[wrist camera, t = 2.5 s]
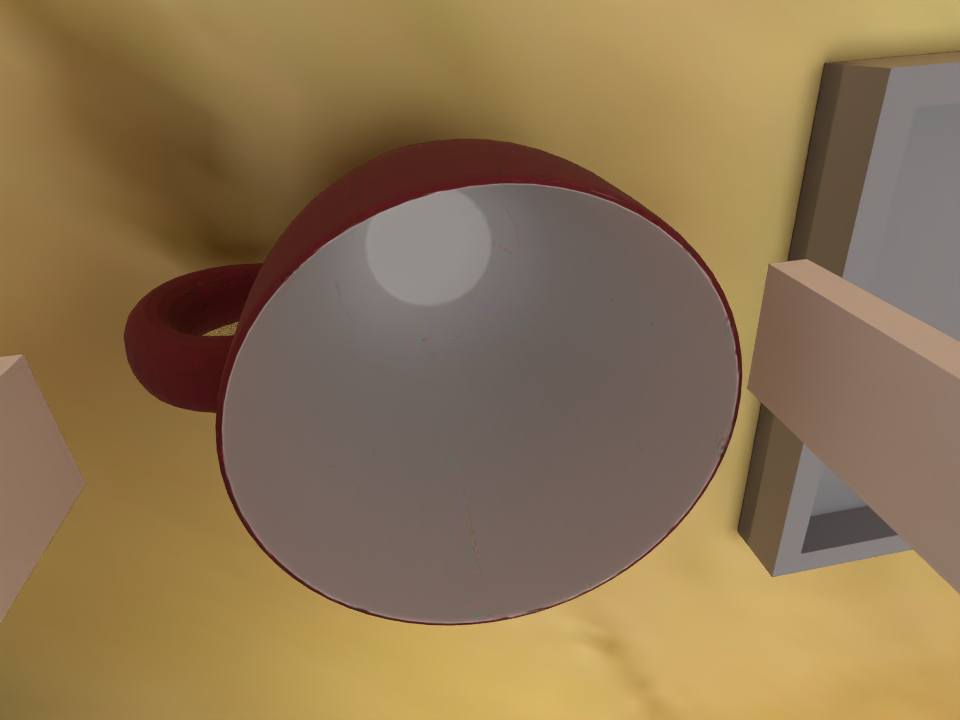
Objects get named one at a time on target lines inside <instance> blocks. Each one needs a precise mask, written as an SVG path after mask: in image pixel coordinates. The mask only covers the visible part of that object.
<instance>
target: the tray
mask: <svg viewBox="0 0 960 720" xmlns="http://www.w3.org/2000/svg"><path fill="white" fill-rule="evenodd" d="M804 259H808V260H809V261H811V262H813V263H815V264H817V265H819V266H821V267H822V268H824V269H826V270H828V271H830V272H832V273H834V274H835V275H837V276H839V277H841V278H843V279H845V280H846V281H848V282H850V283H852V284H854V285H856V286H858V287H859V288H861V289H863V290H865V291H867V292H869V293H870V294H872V295H874V296H876V297H878V298H880V299H882V300H883V301H885V302H887V303H889V304H891V305H893V306H894V307H896V308H898V309H900V310H902V311H904V312H906V313H907V314H909V315H911V316H913V317H915V318H917V319H919V320H920V321H922V322H924V323H926V324H928V325H930V326H931V327H933V328H935V329H937V330H939V331H941V332H943V333H944V334H946V335H948V336H950V337H952V338H954V339H955V340H957V341H959V342H960V51H958V52H946V53H935V54H923V55H912V56H900V57H889V58H878V59H866V60H855V61H843V62H832V63H825V67H824V72H823V77H822V83H821V88H820V93H819V99H818V104H817V109H816V115H815V120H814V126H813V131H812V136H811V142H810V147H809V152H808V158H807V163H806V169H805V174H804V179H803V185H802V190H801V195H800V201H799V206H798V211H797V217H796V222H795V228H794V233H793V238H792V244H791V249H790V254H789V260H788V261H795V260H804ZM738 533H739V534H740V535H741V537H742V538H743V539H744V541H745V542H746V543H747V545H748V546H749V547H750V548H751V550H752V551H753V552H754V554H755V555H756V556H757V558H758V559H759V560H760V562H761V563H762V564H763V566H764V567H765V568H766V570H767V571H768V572H769V574H770V575H771V576H772V577H776V576H781V575H786V574H791V573H796V572H801V571H806V570H811V569H816V568H821V567H826V566H831V565H836V564H841V563H846V562H851V561H857V560H862V559H867V558H872V557H877V556H882V555H887V554H892V553H897V552H902V551H907V550H912V548H911V547H910V546H909V545H908V544H907V543H906V542H905V541H904V540H903V539H902V538H901V537H900V536H899V535H898V534H897V533H896V532H895V531H894V530H893V529H892V528H891V527H890V526H889V525H888V524H887V523H886V522H885V521H884V520H883V519H881V518H880V517H879V516H878V515H877V514H876V513H875V512H874V511H873V510H872V509H871V508H870V507H869V506H868V505H867V504H866V503H865V502H864V501H863V500H862V499H861V498H860V497H859V496H858V495H857V494H856V493H855V492H854V491H853V490H852V489H850V488H849V487H848V486H847V485H846V484H845V483H844V482H843V481H842V480H841V479H840V478H839V477H838V476H837V475H836V474H835V473H834V472H833V471H832V470H831V469H830V468H829V467H828V466H827V465H826V464H825V463H824V462H823V461H822V460H821V459H819V458H818V457H817V456H816V455H815V454H814V453H813V452H812V451H811V450H810V449H809V448H808V447H807V446H806V445H805V444H804V443H803V442H802V441H801V440H800V439H799V438H798V437H797V436H796V435H795V434H794V433H793V432H792V431H791V430H790V429H788V428H787V427H786V426H785V425H784V424H783V423H782V422H781V421H780V420H779V419H778V418H777V417H776V416H775V415H774V414H773V413H772V412H771V411H770V410H769V409H768V408H767V407H766V406H765V405H764V404H763V403H762V405H761V410H760V415H759V421H758V426H757V432H756V437H755V442H754V448H753V453H752V458H751V464H750V469H749V475H748V480H747V485H746V491H745V496H744V501H743V507H742V512H741V517H740V523H739V528H738Z"/></svg>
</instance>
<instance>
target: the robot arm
mask: <svg viewBox="0 0 960 720" xmlns="http://www.w3.org/2000/svg"><path fill="white" fill-rule="evenodd" d="M747 389H748V390H749V391H750V392H751V393H752V394H753V395H754V396H755V397H756V398H757V399H758V400H760V401H761V402H762V403H763V404H764V405H765V406H766V407H767V408H768V409H769V410H770V411H771V412H772V413H773V414H774V415H775V416H776V417H777V418H778V419H779V420H780V421H781V422H782V423H783V424H784V425H785V426H786V427H787V428H788V429H790V430H791V431H792V432H793V433H794V434H795V435H796V436H797V437H798V438H799V439H800V440H801V441H802V442H803V443H804V444H805V445H806V446H807V447H808V448H809V449H810V450H811V451H812V452H813V453H814V454H815V455H816V456H817V457H818V458H819V459H821V460H822V461H823V462H824V463H825V464H826V465H827V466H828V467H829V468H830V469H831V470H832V471H833V472H834V473H835V474H836V475H837V476H838V477H839V478H840V479H841V480H842V481H843V482H844V483H845V484H846V485H847V486H848V487H849V488H850V489H852V490H853V491H854V492H855V493H856V494H857V495H858V496H859V497H860V498H861V499H862V500H863V501H864V502H865V503H866V504H867V505H868V506H869V507H870V508H871V509H872V510H873V511H874V512H875V513H876V514H877V515H878V516H879V517H880V518H881V519H883V520H884V521H885V522H886V523H887V524H888V525H889V526H890V527H891V528H892V529H893V530H894V531H895V532H896V533H897V534H898V535H899V536H900V537H901V538H902V539H903V540H904V541H905V542H906V543H907V544H908V545H909V546H910V547H911V548H912V549H914V550H915V551H916V552H917V553H918V554H919V555H920V556H921V557H922V558H923V559H924V560H925V561H926V562H927V563H928V564H929V565H930V566H931V567H932V568H933V569H934V570H935V571H936V572H937V573H938V574H939V575H940V576H941V577H942V578H943V579H945V580H946V581H947V582H948V583H949V584H950V585H951V586H952V587H953V588H954V589H955V590H956V591H957V592H958V593H959V594H960V342H959V341H957V340H955V339H954V338H952V337H950V336H948V335H946V334H944V333H943V332H941V331H939V330H937V329H935V328H933V327H931V326H930V325H928V324H926V323H924V322H922V321H920V320H919V319H917V318H915V317H913V316H911V315H909V314H907V313H906V312H904V311H902V310H900V309H898V308H896V307H894V306H893V305H891V304H889V303H887V302H885V301H883V300H882V299H880V298H878V297H876V296H874V295H872V294H870V293H869V292H867V291H865V290H863V289H861V288H859V287H858V286H856V285H854V284H852V283H850V282H848V281H846V280H845V279H843V278H841V277H839V276H837V275H835V274H834V273H832V272H830V271H828V270H826V269H824V268H822V267H821V266H819V265H817V264H815V263H813V262H811V261H809V260H808V259H804V260H795V261H787V262H779V263H771V264H769V266H768V272H767V278H766V283H765V289H764V295H763V301H762V306H761V312H760V318H759V324H758V329H757V335H756V341H755V347H754V352H753V358H752V364H751V370H750V375H749V381H748V387H747ZM85 484H86V483H85V481H84V479H83V477H82V475H81V473H80V471H79V469H78V467H77V465H76V463H75V461H74V458H73V456H72V454H71V452H70V450H69V448H68V446H67V444H66V442H65V440H64V438H63V436H62V433H61V431H60V429H59V427H58V425H57V423H56V421H55V419H54V417H53V415H52V413H51V411H50V409H49V406H48V404H47V402H46V400H45V398H44V396H43V394H42V392H41V390H40V388H39V386H38V384H37V381H36V379H35V377H34V375H33V373H32V371H31V369H30V367H29V365H28V363H27V361H26V359H25V356H24V354H21V355H13V356H4V357H0V623H1V622H2V620H3V618H4V617H5V615H6V613H7V612H8V610H9V608H10V607H11V605H12V604H13V602H14V600H15V599H16V597H17V595H18V594H19V592H20V590H21V589H22V587H23V586H24V584H25V582H26V581H27V579H28V577H29V576H30V574H31V572H32V571H33V569H34V568H35V566H36V564H37V563H38V561H39V559H40V558H41V556H42V554H43V553H44V551H45V549H46V548H47V546H48V545H49V543H50V541H51V540H52V538H53V536H54V535H55V533H56V531H57V530H58V528H59V527H60V525H61V523H62V522H63V520H64V518H65V517H66V515H67V513H68V512H69V510H70V509H71V507H72V505H73V504H74V502H75V500H76V499H77V497H78V495H79V494H80V492H81V491H82V489H83V487H84V486H85Z"/></svg>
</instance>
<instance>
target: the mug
mask: <svg viewBox="0 0 960 720" xmlns="http://www.w3.org/2000/svg"><path fill="white" fill-rule="evenodd" d="M238 321H239V322H238ZM235 322H238V325H237V329H236V332H235V335H232V336H201V335H204V334H206V333H208V332H210V331H212V330H215V329H217V328H220V327H222V326H225V325H228V324H231V323H235ZM124 342H125V349H126V354H127V359H128V362H129V364H130V367H131V369H132V371H133V373H134V375H135V376H136V378H137V379H138V380H139V382H140V383H141V384H142V385H143V386H144V387H145V388H146V389H147V390H148V392H149V393H151V394H152V395H154V396H155V397H156V398H158V399H159V400H161V401H163V402H165V403H168V404H170V405H172V406H175V407H179V408H183V409H188V410H193V411H198V412H213V413H216V444H217V454H218V459H219V464H220V470H221V474H222V477H223V480H224V484H225V487H226V490H227V493H228V495H229V498H230V500H231V502H232V504H233V506H234V509H235V511H236V513H237V515H238V516H239V518H240V520H241V521H242V523H243V525H244V526H245V528H246V529H247V531H248V533H249V534H250V535H251V536H252V538H253V539H254V540H255V541H256V543H257V544H258V545H259V547H260V548H261V549H262V550H263V551H264V552H265V553H266V554H267V555H268V556H269V557H270V558H271V559H272V560H273V561H274V562H275V563H276V564H277V565H278V566H279V567H280V568H282V569H283V570H284V571H285V572H286V573H288V574H289V575H290V576H291V577H292V578H294V579H295V580H297V581H298V582H300V583H301V584H303V585H304V586H306V587H307V588H309V589H310V590H312V591H314V592H316V593H318V594H320V595H321V596H323V597H325V598H327V599H329V600H331V601H334V602H336V603H338V604H340V605H343V606H345V607H347V608H350V609H353V610H356V611H359V612H362V613H365V614H368V615H372V616H376V617H380V618H384V619H389V620H394V621H400V622H406V623H415V624H425V625H471V624H480V623H489V622H496V621H501V620H507V619H512V618H516V617H520V616H524V615H528V614H532V613H536V612H539V611H542V610H545V609H548V608H551V607H554V606H557V605H560V604H562V603H565V602H567V601H570V600H572V599H575V598H577V597H579V596H581V595H583V594H585V593H587V592H589V591H592V590H594V589H595V588H597V587H599V586H601V585H603V584H604V583H606V582H608V581H610V580H612V579H613V578H615V577H616V576H618V575H619V574H621V573H622V572H624V571H626V570H627V569H629V568H630V567H631V566H633V565H634V564H635V563H637V562H638V561H639V560H641V559H642V558H643V557H645V556H646V555H647V554H648V553H650V552H651V551H652V550H653V549H654V548H655V547H656V546H658V545H659V544H660V543H661V542H662V541H663V540H664V539H665V538H666V537H667V536H668V535H669V534H670V533H671V532H672V531H673V530H674V529H675V528H676V527H677V526H678V525H679V524H680V523H681V521H682V520H683V519H684V518H685V517H686V516H687V515H688V513H689V512H690V511H691V510H692V508H693V507H694V506H695V504H696V503H697V501H698V500H699V499H700V497H701V496H702V495H703V493H704V492H705V490H706V488H707V487H708V485H709V483H710V482H711V480H712V479H713V477H714V475H715V473H716V471H717V469H718V467H719V465H720V463H721V461H722V459H723V457H724V455H725V452H726V450H727V447H728V445H729V442H730V439H731V437H732V433H733V430H734V426H735V423H736V419H737V415H738V409H739V404H740V398H741V386H742V358H741V349H740V343H739V336H738V332H737V328H736V325H735V321H734V317H733V314H732V311H731V309H730V306H729V304H728V301H727V299H726V297H725V294H724V292H723V290H722V289H721V287H720V285H719V283H718V282H717V280H716V278H715V276H714V274H713V273H712V272H711V270H710V269H709V267H708V266H707V265H706V263H705V262H704V261H703V259H702V258H701V257H700V255H699V254H698V253H697V252H696V251H695V250H694V249H693V248H692V247H691V246H690V245H689V244H688V242H687V241H686V240H685V239H684V238H683V237H682V236H681V235H680V234H679V233H678V232H676V231H675V230H674V229H673V228H672V227H670V226H669V225H668V224H667V223H666V222H664V221H663V220H662V219H661V218H659V217H658V216H657V215H655V214H654V213H652V212H651V211H650V210H648V209H647V208H646V207H644V206H643V205H641V204H640V203H639V202H637V201H636V200H634V199H633V198H632V197H630V196H629V195H627V194H625V193H624V192H622V191H621V190H619V189H618V188H616V187H614V186H613V185H611V184H610V183H608V182H607V181H605V180H603V179H602V178H600V177H599V176H597V175H596V174H594V173H592V172H591V171H589V170H587V169H585V168H582V167H580V166H578V165H576V164H574V163H572V162H570V161H568V160H566V159H563V158H561V157H558V156H555V155H553V154H550V153H547V152H544V151H542V150H539V149H535V148H531V147H527V146H522V145H518V144H514V143H509V142H501V141H493V140H481V139H454V140H441V141H433V142H427V143H422V144H416V145H411V146H406V147H403V148H400V149H396V150H393V151H391V152H388V153H386V154H383V155H381V156H379V157H377V158H375V159H373V160H371V161H369V162H367V163H365V164H363V165H361V166H360V167H358V168H356V169H354V170H352V171H351V172H349V173H348V174H346V175H345V176H343V177H342V178H340V179H339V180H337V181H336V182H334V183H333V184H332V185H330V186H329V187H328V188H327V189H325V190H324V191H323V192H322V193H321V194H319V195H318V196H317V197H316V198H315V199H314V200H312V201H311V202H310V203H309V204H308V205H307V206H306V208H305V209H304V210H303V211H302V212H301V213H300V214H299V215H298V216H297V217H296V218H295V219H294V220H293V221H292V223H291V224H290V225H289V226H288V228H287V229H286V230H285V232H284V233H283V234H282V236H281V237H280V238H279V239H278V241H277V242H276V244H275V246H274V247H273V249H272V251H271V252H270V254H269V255H268V257H267V259H266V260H265V262H264V264H241V265H230V266H222V267H216V268H210V269H205V270H200V271H196V272H192V273H189V274H186V275H183V276H180V277H177V278H175V279H172V280H170V281H168V282H165V283H163V284H162V285H160V286H158V287H157V288H155V289H153V290H152V291H151V292H149V293H148V294H147V295H146V296H144V297H143V298H142V299H141V300H140V302H139V303H138V304H137V305H136V306H135V307H134V309H133V310H132V311H131V313H130V314H129V317H128V320H127V323H126V327H125V332H124Z"/></svg>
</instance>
